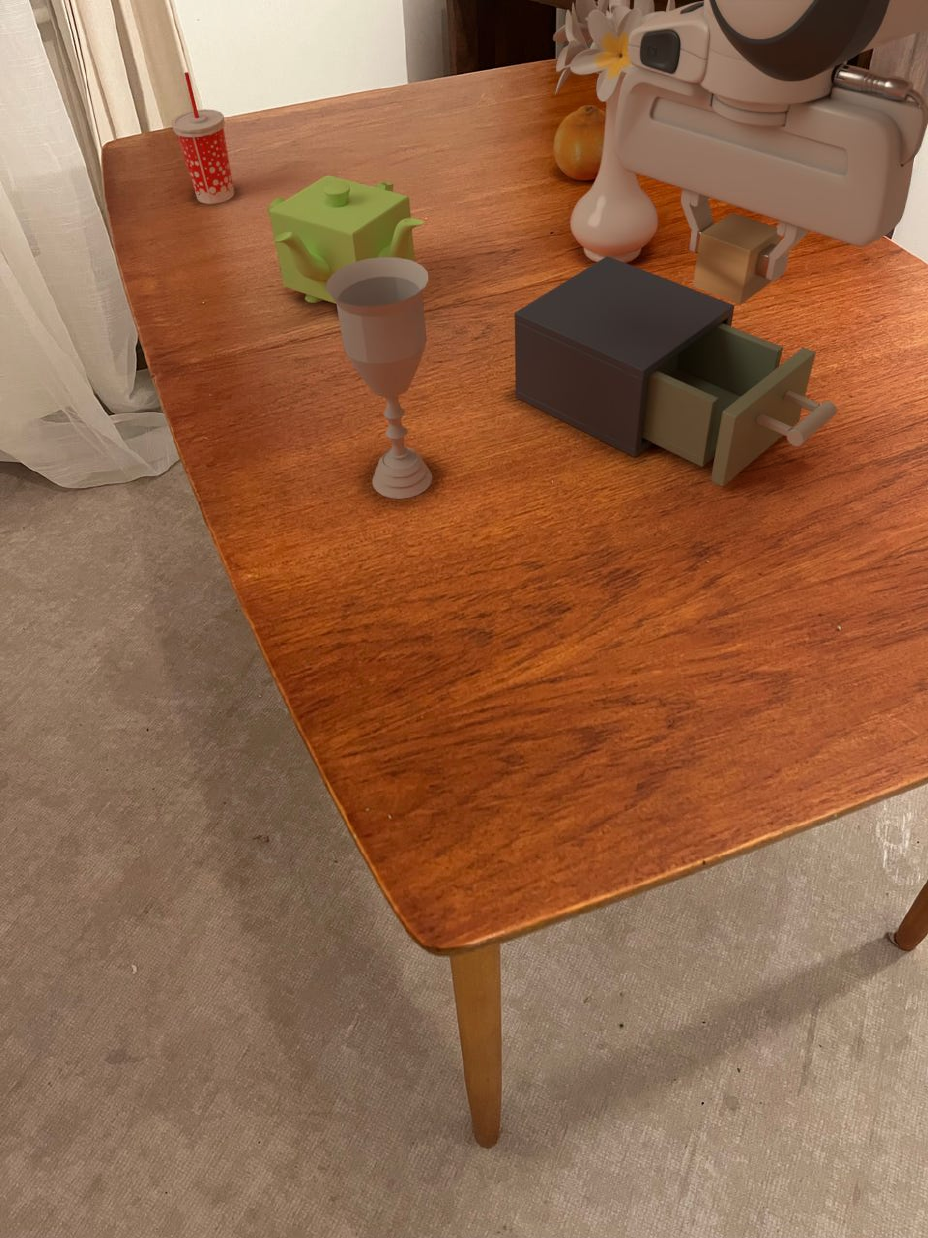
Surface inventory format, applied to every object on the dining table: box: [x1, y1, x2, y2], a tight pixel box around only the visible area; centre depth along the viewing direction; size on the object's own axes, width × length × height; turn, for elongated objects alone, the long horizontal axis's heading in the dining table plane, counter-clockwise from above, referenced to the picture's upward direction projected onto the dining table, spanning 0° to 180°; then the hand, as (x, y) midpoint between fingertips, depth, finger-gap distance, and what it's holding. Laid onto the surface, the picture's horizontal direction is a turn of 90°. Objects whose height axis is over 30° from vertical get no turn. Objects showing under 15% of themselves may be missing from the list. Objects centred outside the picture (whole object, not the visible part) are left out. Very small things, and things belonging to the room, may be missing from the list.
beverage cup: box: [171, 71, 235, 205], centre depth 116 cm, size 6×6×14 cm
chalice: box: [327, 257, 433, 500], centre depth 76 cm, size 7×7×18 cm
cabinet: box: [514, 256, 735, 458], centre depth 86 cm, size 14×13×9 cm
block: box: [692, 212, 782, 306], centre depth 69 cm, size 4×4×4 cm
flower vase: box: [552, 0, 676, 264], centre depth 98 cm, size 13×18×25 cm
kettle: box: [266, 174, 425, 305], centre depth 100 cm, size 15×14×11 cm
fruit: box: [552, 104, 606, 181], centre depth 118 cm, size 8×8×8 cm
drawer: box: [642, 323, 838, 488], centre depth 81 cm, size 17×11×7 cm
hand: (735, 263), depth 69 cm, fingers closed on block, 4 cm apart
